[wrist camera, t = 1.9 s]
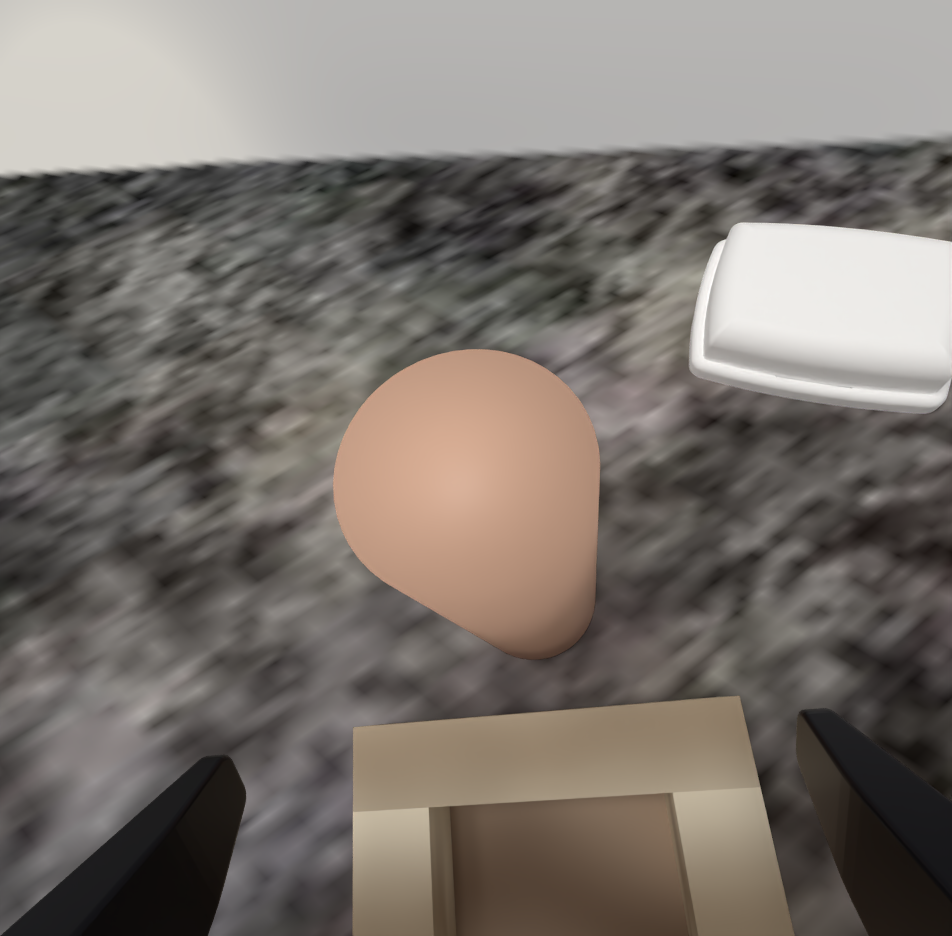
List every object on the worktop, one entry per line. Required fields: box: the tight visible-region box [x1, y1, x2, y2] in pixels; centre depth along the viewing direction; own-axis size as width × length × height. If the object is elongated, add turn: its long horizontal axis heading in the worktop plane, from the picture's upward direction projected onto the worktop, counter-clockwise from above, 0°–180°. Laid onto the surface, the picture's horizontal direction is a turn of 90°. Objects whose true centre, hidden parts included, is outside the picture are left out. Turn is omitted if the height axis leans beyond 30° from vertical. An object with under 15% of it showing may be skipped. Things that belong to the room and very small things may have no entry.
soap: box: [689, 223, 952, 414], centre depth 22 cm, size 9×7×3 cm
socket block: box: [353, 696, 795, 936], centre depth 16 cm, size 11×11×3 cm
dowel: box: [333, 349, 600, 660], centre depth 15 cm, size 4×4×12 cm
